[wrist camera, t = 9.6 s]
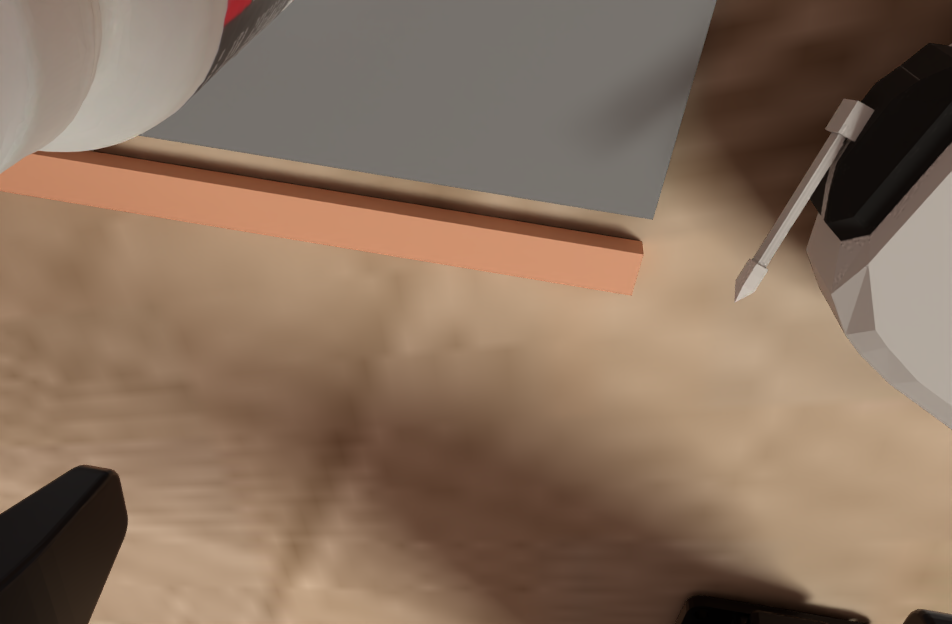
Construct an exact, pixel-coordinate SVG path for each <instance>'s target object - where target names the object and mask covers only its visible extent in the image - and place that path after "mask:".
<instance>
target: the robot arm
mask: <svg viewBox="0 0 952 624" xmlns="http://www.w3.org/2000/svg"><path fill="white" fill-rule="evenodd" d="M127 525H128V515H127V510H126V506H125V501H124V496H123V492H122V487H121V482H120V478H119V475H118V474H117V473H116V472H115V471H114V470H112V469H107V468H102V467H96V466H90V465H80V466H77V467H75V468H73V469H71V470H69V471H68V472H66V473H65V474H63V475H61V476H60V477H58V478H57V479H55V480H54V481H52V482H50V483H49V484H47V485H46V486H44V487H42V488H41V489H39V490H38V491H36V492H35V493H33V494H31V495H30V496H28V497H27V498H25V499H23V500H22V501H20V502H19V503H17V504H16V505H14V506H12V507H11V508H9V509H8V510H6V511H4V512H3V513H1V514H0V624H88V623H89V621H90V618H91V616H92V614H93V611H94V609H95V607H96V604H97V602H98V599H99V597H100V595H101V592H102V590H103V587H104V585H105V583H106V580H107V578H108V576H109V573H110V571H111V568H112V566H113V564H114V561H115V559H116V557H117V554H118V552H119V549H120V547H121V545H122V542H123V540H124V537H125V534H126V531H127ZM675 624H865V623H859V622H853V621H847V620H841V619H836V618H830V617H824V616H818V615H813V614H807V613H801V612H795V611H789V610H784V609H778V608H772V607H766V606H760V605H755V604H749V603H743V602H737V601H731V600H726V599H720V598H714V597H708V596H699V595H698V596H693V597H691V598H689V599H687V601H686V602H685V604H684V606H683V608H682V610H681V612H680V614H679V616H678V618H677V621H676V623H675ZM903 624H952V615H951V614H948V613H942V612H936V611H930V610H925V609H917V610H915V611H913V612H911V613H910V614H909V616H908V617H907V618H906V620H905V621H904V623H903Z"/></svg>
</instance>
